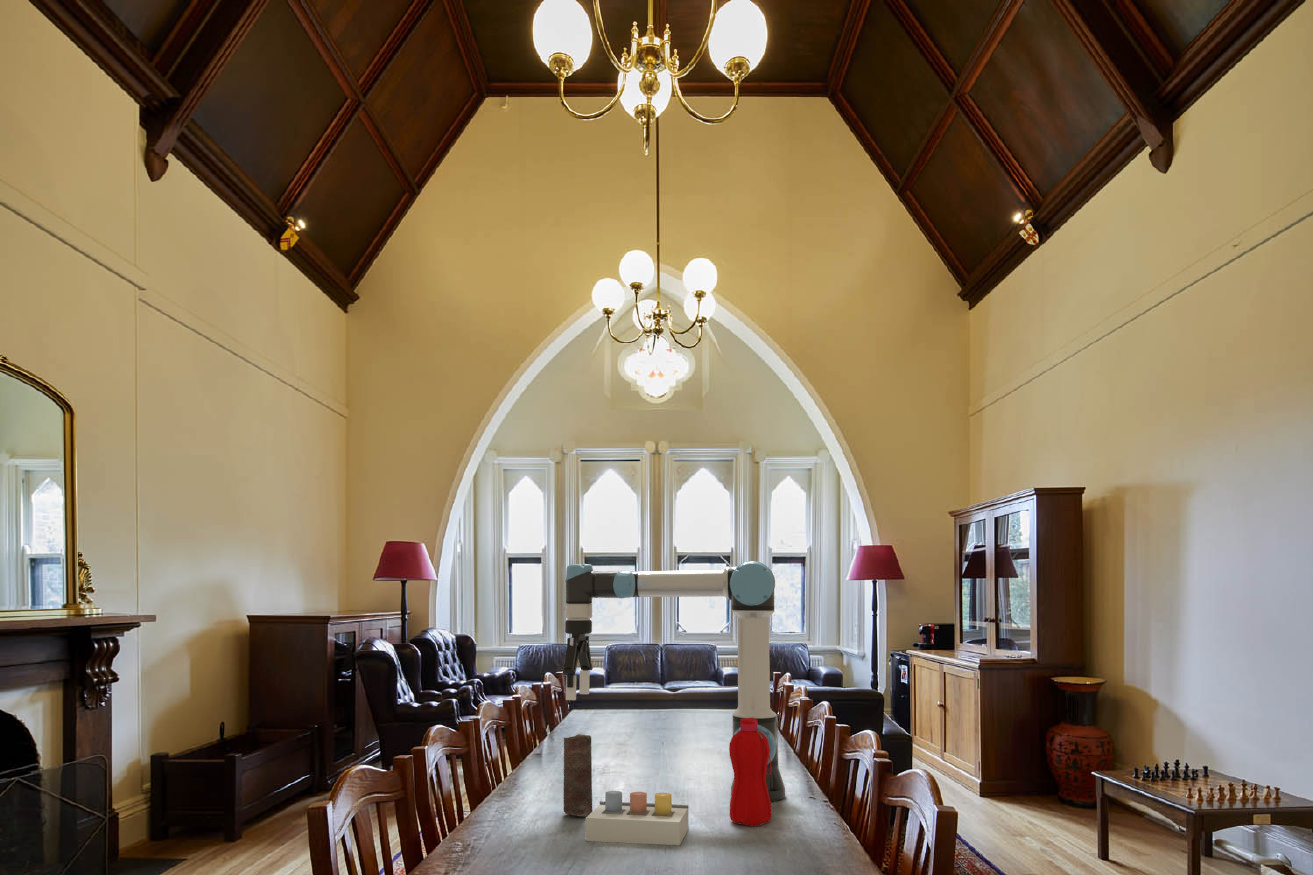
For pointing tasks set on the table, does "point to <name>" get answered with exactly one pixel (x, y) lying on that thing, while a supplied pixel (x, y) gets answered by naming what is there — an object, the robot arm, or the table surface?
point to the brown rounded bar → (578, 775)
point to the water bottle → (750, 775)
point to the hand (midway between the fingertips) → (577, 696)
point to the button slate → (613, 801)
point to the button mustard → (663, 803)
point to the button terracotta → (638, 802)
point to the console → (638, 825)
